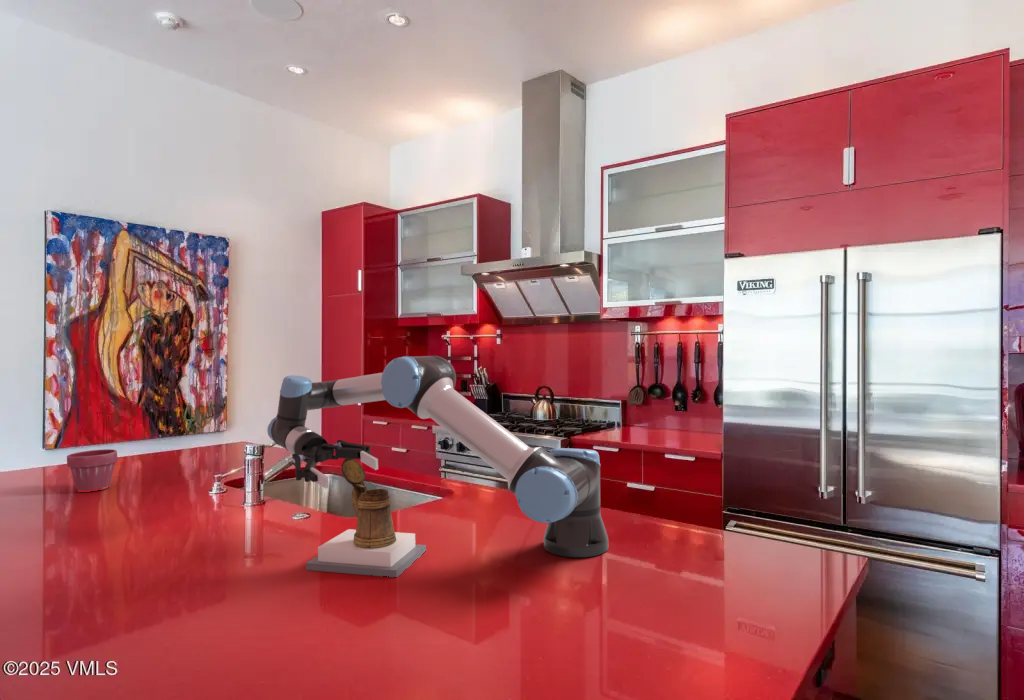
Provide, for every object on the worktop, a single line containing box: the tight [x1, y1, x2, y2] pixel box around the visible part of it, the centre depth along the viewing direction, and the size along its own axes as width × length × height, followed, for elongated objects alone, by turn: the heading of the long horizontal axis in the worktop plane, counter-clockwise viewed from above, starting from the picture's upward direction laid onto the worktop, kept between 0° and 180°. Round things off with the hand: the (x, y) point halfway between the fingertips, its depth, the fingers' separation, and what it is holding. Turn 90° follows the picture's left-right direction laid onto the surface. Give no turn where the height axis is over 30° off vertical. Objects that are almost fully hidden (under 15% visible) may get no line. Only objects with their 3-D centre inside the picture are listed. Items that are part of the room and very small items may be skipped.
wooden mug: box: [340, 457, 396, 548], centre depth 133 cm, size 9×14×18 cm, turn 57°
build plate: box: [305, 528, 427, 578], centre depth 133 cm, size 21×16×4 cm
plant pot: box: [66, 448, 118, 490], centre depth 205 cm, size 14×14×13 cm
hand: (352, 473), depth 142 cm, fingers open, 13 cm apart
